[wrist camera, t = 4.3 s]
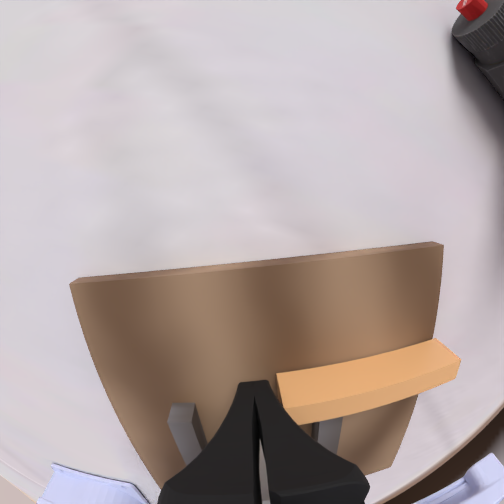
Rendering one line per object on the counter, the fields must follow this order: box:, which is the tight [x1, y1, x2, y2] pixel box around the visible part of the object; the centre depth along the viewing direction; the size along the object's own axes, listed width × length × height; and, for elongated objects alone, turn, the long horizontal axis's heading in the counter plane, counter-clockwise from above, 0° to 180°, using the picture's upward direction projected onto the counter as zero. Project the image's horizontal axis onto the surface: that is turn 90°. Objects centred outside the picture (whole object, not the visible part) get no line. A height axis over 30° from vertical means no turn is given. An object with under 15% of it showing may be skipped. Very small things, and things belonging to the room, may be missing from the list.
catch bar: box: [276, 338, 461, 425], centre depth 11 cm, size 9×1×2 cm, turn 95°
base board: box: [69, 242, 444, 490], centre depth 13 cm, size 18×18×2 cm
